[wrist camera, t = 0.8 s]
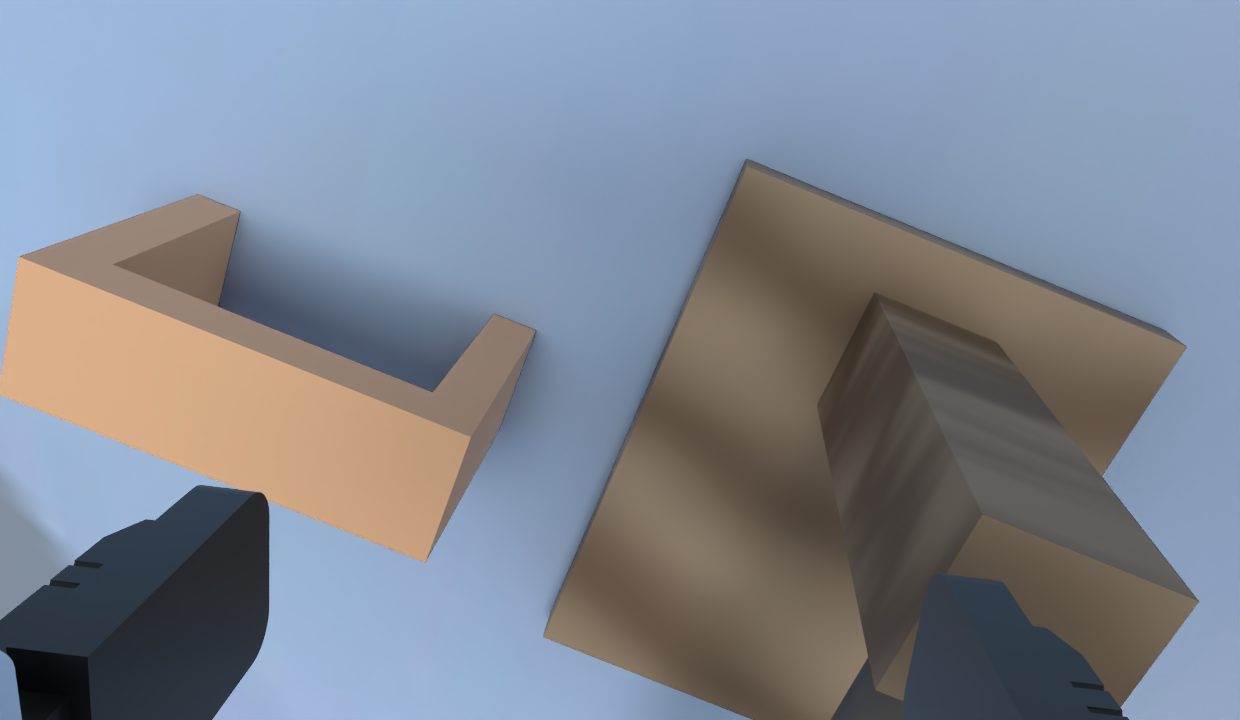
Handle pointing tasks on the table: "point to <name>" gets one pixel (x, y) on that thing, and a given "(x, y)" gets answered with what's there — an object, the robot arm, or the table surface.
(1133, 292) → the table surface
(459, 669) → the table surface
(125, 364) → the wooden staple shape
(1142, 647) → the hook stand
